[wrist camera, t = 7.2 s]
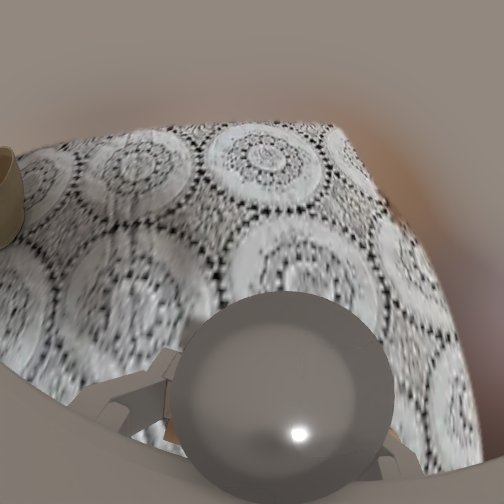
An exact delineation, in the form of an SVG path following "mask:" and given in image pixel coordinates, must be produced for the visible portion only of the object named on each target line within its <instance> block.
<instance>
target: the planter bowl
mask: <svg viewBox="0 0 504 504" xmlns="http://www.w3.org/2000/svg"><path fill="white" fill-rule="evenodd" d="M23 203H24V190H23V181H22V176H21V173H20V170H19V167H18V164H17V162H16V160H15V155H14V153H13V150H12V149H11V148H9V147H7V146H1V147H0V250H1V249H3V248H4V247H6V246H7V245H8V244H10V243H11V242H12V241H13V240H14V238H15V237H16V236H17V234H18V233H19V231H20V229H21V227H22V225H23V222H24V217H25V212H24V208H23Z"/></svg>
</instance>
